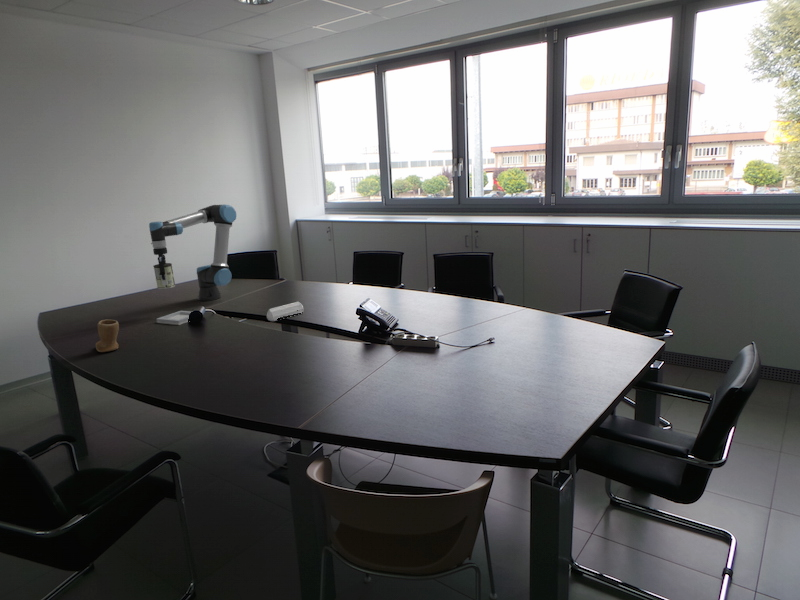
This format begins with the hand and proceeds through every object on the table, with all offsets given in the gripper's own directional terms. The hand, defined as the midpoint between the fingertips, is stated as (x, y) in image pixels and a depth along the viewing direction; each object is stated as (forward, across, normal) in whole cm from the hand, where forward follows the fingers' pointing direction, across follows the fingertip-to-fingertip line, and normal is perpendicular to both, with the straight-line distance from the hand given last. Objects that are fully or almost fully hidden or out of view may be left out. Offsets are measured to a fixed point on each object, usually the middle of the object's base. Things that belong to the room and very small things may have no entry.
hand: (165, 283), depth 322 cm
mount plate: (+20, +16, +6) cm, 27 cm away
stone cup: (+20, +58, -24) cm, 66 cm away
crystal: (+20, +44, +66) cm, 81 cm away
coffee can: (+3, 0, 0) cm, 3 cm away
